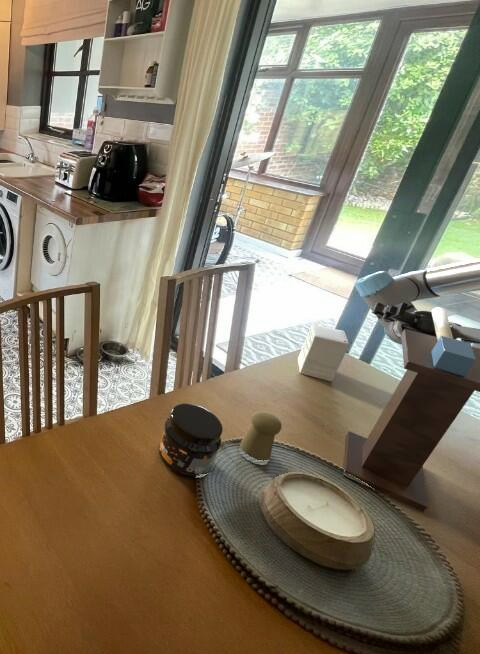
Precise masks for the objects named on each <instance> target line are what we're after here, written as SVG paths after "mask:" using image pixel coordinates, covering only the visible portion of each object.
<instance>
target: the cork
mask: <svg viewBox="0 0 480 654" xmlns="http://www.w3.org/2000/svg"><path fill="white" fill-rule="evenodd" d="M250 421H251V426H250V427H249V428H248V430H247V432H246V433H245V434H244V436H243V438H242V439H241V440H240V442H241V443H240V442H239V444H240V446H241V448H242V450H243V451H244V452H245V453H246V454H248V455H249V456H251V457H253V458H255V459H257V460H263V461H264V460H268V459H270V460H271V457H270V456H272V451H273V447H274V442H275V438H276V437H275V436H276V435H278V434H279V433H280V432H281V430H282V421H281V420H280V419H279V417H278V416H276V415H274V414H273V413H271V412H269V411H266V410H257V411H256V412H254V413H253V414H252V416H251V419H250Z"/></svg>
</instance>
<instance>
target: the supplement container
mask: <svg viewBox="0 0 480 654" xmlns="http://www.w3.org/2000/svg"><path fill="white" fill-rule="evenodd" d="M223 429H224V428H223V424H222V422H221V420H220V419H219V418H218V417H217V416H216V414H214V413H213V412H212V411H210V410H208V409H207V408H206V407H203V406H200V405H197V404H194V403H179V404H177V405H175V406H173V407H172V409H171V411H170V414H169V415H168V416H167V418H166V420H165V422H164V428H163V432H162V436H161V439H160V443H159V445H158V454H159V457H160V459H161V461H162V463H163V464H164V465H165V464H166V465H167V466H168V467H169V468H170V469H169V468H168V467H167V466H166V465H165V466H166V467H167V468H168V469H169V470H170V471H172V470H173V471H174V472H173V471H172V472H173V473H175V472H176V473H175V474H176V475H178V476H181V475H182V476H181V477H183V476H184V478H186V477H187V478H186V479H191V478H192V480H193V479H194V480H196V479H195V477H196V475H199V474H207V473H209V472H210V471H211V472H212V470H211V469H213V465H214V462H215V460H216V457H217V454H218V451H219V450H220V449H221V446H222V438H221V436H222V434H223V431H224V430H223ZM211 472H210V473H211ZM210 473H209V474H210Z"/></svg>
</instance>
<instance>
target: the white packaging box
mask: <svg viewBox="0 0 480 654" xmlns="http://www.w3.org/2000/svg"><path fill="white" fill-rule="evenodd" d="M349 347H350V343H349V340H348V338H347V335H346V332H345V330H341V329H337V328H332V327H327V326H323V325H318V324H314V323H311V326H310V328H309V331H308V333H307V336H306V338H305V341H304V343H303V345H302V348H301V350H300V352H299V355H298V357H297V365H298V369H299V374H302V375H305V376H309V377H313V378H316V379H321V380H323V381H328V382H330V383H331V382H333V380H334V378H335V376H336V374H337V372H338V370H339V367H340V366H341V363H342V362H343V359H344V357H345V356H346V353H347V351H348V349H349Z"/></svg>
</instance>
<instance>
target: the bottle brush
mask: <svg viewBox="0 0 480 654" xmlns="http://www.w3.org/2000/svg"><path fill="white" fill-rule="evenodd" d="M431 312H432V316H433V321H434V326H435V331H436V336H437V340H438V341H437V343H436V345H435V346H434V348H433V350H432V351H431V353H432V358H433V364H434V368H438V369H441V370H444V371H448V372H451V373H454V374H458V375H461V376H465V375H466V374H467V372H468V371H469V369H470V368H471V366H472V365H473V363H474V361H475V360H476V359H475V356H474V353H473V350H472V347H473V346H472V343H467V342H463V341H461V340H458V339H453V336H452V332H451V328H450V324H449V322H450V321H449V317H448V314H447V311H446V309H445V308H443V307H440V306H439V307H434V308H432V309H431ZM471 346H472V347H471Z"/></svg>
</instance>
